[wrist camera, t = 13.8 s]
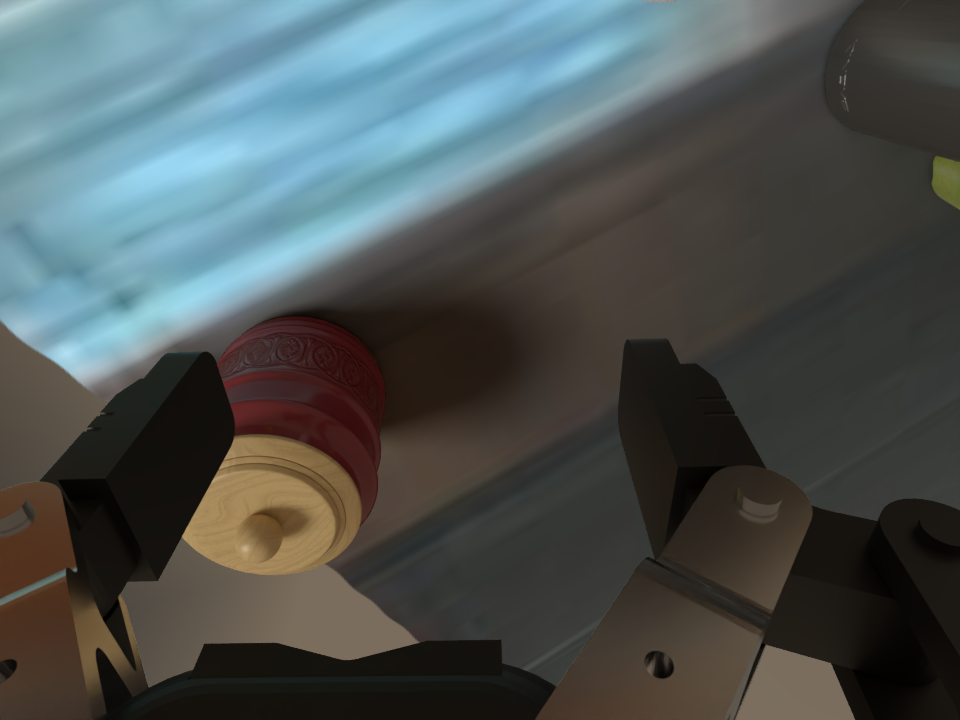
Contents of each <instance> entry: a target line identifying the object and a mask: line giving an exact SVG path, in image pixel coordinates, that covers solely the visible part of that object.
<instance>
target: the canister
mask: <svg viewBox="0 0 960 720" xmlns="http://www.w3.org/2000/svg"><path fill="white" fill-rule="evenodd" d="M217 366H218V369H219V372H220V375H221V378H222V381H223V384H224V387H225V390H226V393H227V396H228V399H229V402H230V405H231V408H232V412H233V415H234V420H235V434H234V440H233V443H232V446H231V448H230V450H229V451H228V453H227V455H226V457H225V459H224V461H223V462H222V464H221V466H220V468H219V470H218V472H217V473H216V475H215V477H214V479H213V481H212V482H211V484H210V486H209V488H208V490H207V492H206V493H205V495H204V497H203V499H202V501H201V503H200V504H199V506H198V508H197V510H196V512H195V514H194V515H193V517H192V519H191V521H190V523H189V525H188V526H187V528H186V530H185V532H184V534H183V536H182V537H183V538H184V539H185V541H186V542H187V543H188V544H189V545H190V546H192V547H193V548H194V549H195V550H196V551H198V552H199V553H201V554H202V555H204V556H205V557H207V558H209V559H210V560H212V561H214V562H216V563H218V564H221V565H223V566H226V567H229V568H232V569H235V570H239V571H243V572H247V573H254V574H262V575H263V574H264V575H284V574H292V573H298V572H302V571H307V570H310V569H313V568H316V567H318V566H321V565H323V564H325V563H327V562H329V561H330V560H332V559H334V558H335V557H336V556H338V555H339V554H340V553H342V552H343V551H344V550H345V549H346V548H347V547H348V546H349V544H350V543H351V542H352V540H353V539H354V537H355V535H356V534H357V531H358V529H359V527H360V526H361V525H362V524H363V522H364V521H365V520H366V519H367V517H368V516H369V514H370V512H371V510H372V508H373V506H374V504H375V501H376V497H377V492H378V476H377V471H378V467H379V464H380V459H381V443H380V427H381V421H382V418H383V415H384V410H385V386H384V381H383V378H382V375H381V372H380V368H379V366H378V364H377V362H376V360H375V358H374V356H373V355H372V353H371V352H370V350H369V349H368V348H367V347H366V346H365V344H364V343H363V342H362V341H360V340H359V339H358V338H357V337H356V336H354V335H353V334H352V333H350V332H349V331H347V330H346V329H344V328H342V327H340V326H338V325H336V324H333V323H331V322H328V321H325V320H322V319H317V318H312V317H305V316H286V317H279V318H274V319H271V320H267V321H265V322H262V323H260V324H257V325H256V326H254V327H252V328H250V329H249V330H247V331H246V332H245V333H243V334H242V335H241V336H240V337H238V338H237V339H236V340H235V341H234V342H233V343H232V344H231V345H230V346H229V347H228V348H227V349H226V351H225V352H224V353H223V355H222V357H221V359H220V360H219V362H218V364H217Z"/></svg>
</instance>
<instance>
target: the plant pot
mask: <svg viewBox="0 0 960 720" xmlns="http://www.w3.org/2000/svg"><path fill="white" fill-rule="evenodd" d="M932 187H933V190H934V191H935V193H936V194H937V195H938V196H939V197H940V198H941V199H943V200H945V201H946V202H948V203H949V204H951V205H953V206H954V207H956V208H958V209H959V210H960V163H959V162H956V161H953V160H949V159H946V158H943V157H939V156H935V159H934V161H933V180H932Z"/></svg>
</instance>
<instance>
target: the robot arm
mask: <svg viewBox="0 0 960 720" xmlns="http://www.w3.org/2000/svg"><path fill="white" fill-rule="evenodd" d="M825 91H826V96H827V101H828V104H829V106H830V108H831V110H832V112H833V114H834V116H835V117H836V118H837V119H838V120H839V121H840V122H841V123H842V124H843V125H845V126H847V127H848V128H850V129H852V130H854V131H857V132H861V133H864V134H867V135H871V136H874V137H877V138H881V139H884V140H887V141H890V142H893V143H896V144H899V145H903V146H906V147H909V148H913V149H916V150H919V151H923V152H926V153H929V154H933V155H936V156H939V157H943V158H946V159H949V160H953V161H956V162H959V163H960V0H866V1H865V2H864V3H863V4H862V5H861V6H859V7H858V8H857V9H856V10H855V12H854V13H853V14H852V15H851V17H850V18H849V19H848V21H847V22H846V23H845V24H844V26H843V28H842V29H841V31H840V33H839V35H838V36H837V38H836V40H835V42H834V45H833V47H832V50H831V53H830V55H829V58H828V63H827V68H826V73H825ZM618 423H619V432H620V437H621V441H622V444H623V448H624V451H625V455H626V459H627V462H628V466H629V469H630V473H631V476H632V480H633V483H634V487H635V491H636V494H637V498H638V501H639V505H640V508H641V512H642V516H643V519H644V523H645V526H646V530H647V533H648V537H649V540H650V544H651V548H652V551H653V555H654V558H655V560H654V559H652V558H650V557H647V558H645V559H644V560H643V561H642V562H641V563H640V564H639V565H638V567H637V568H636V569H635V571H634V572H633V574H632V575H631V577H630V578H629V580H628V581H627V583H626V584H625V586H624V587H623V589H622V590H621V592H620V593H619V595H618V596H617V598H616V599H615V601H614V602H613V604H612V605H611V607H610V608H609V610H608V611H607V613H606V614H605V616H604V617H603V619H602V620H601V622H600V623H599V624H598V626H597V627H596V629H595V630H594V632H593V633H592V635H591V636H590V638H589V639H588V641H587V642H586V644H585V645H584V647H583V648H582V650H581V651H580V653H579V654H578V656H577V657H576V659H575V660H574V662H573V663H572V665H571V666H570V668H569V669H568V671H567V672H566V674H565V675H564V677H563V678H562V680H561V681H560V683H559V684H558V686H557V687H556V686H554V685H553V684H551V683H550V682H548V681H546V680H544V679H542V678H541V677H539V676H537V675H535V674H532V673H530V672H527V671H525V670H522V669H520V668H517V667H513V666H509V665H506V664H502V646H501V640H456V641H425V642H421V643H417V644H413V645H410V646H405V647H402V648H398V649H394V650H390V651H387V652H382V653H379V654H374V655H370V656H367V657H363V658H359V659H355V660H340V659H336V658H332V657H329V656H325V655H321V654H317V653H313V652H309V651H306V650H302V649H298V648H294V647H290V646H286V645H283V644H279V643H230V644H204V646H203V648H202V651H201V653H200V656H199V658H198V660H197V662H196V665H195V667H194V669H193V670H191V671H187V672H184V673H182V674H179V675H177V676H174V677H171V678H168V679H166V680H164V681H162V682H160V683H158V684H156V685H154V686H152V687H148V683H147V680H146V677H145V673H144V669H143V666H142V662H141V658H140V654H139V651H138V647H137V644H136V640H135V636H134V633H133V629H132V625H131V621H130V618H129V614H128V611H127V607H126V605H125V602H124V600H123V598H122V597H121V595H120V593H121V592H122V590H123V588H124V587H125V585H126V583H127V582H129V581H158V579H159V578H160V576H161V574H162V572H163V570H164V568H165V566H166V565H167V563H168V561H169V559H170V557H171V556H172V554H173V552H174V550H175V548H176V546H177V544H178V543H179V541H180V539H181V537H182V536H183V534H184V532H185V530H186V528H187V526H188V525H189V523H190V521H191V519H192V517H193V515H194V514H195V512H196V510H197V508H198V506H199V504H200V503H201V501H202V499H203V497H204V495H205V493H206V492H207V490H208V488H209V486H210V484H211V482H212V481H213V479H214V477H215V475H216V473H217V472H218V470H219V468H220V466H221V464H222V462H223V461H224V459H225V457H226V455H227V453H228V451H229V450H230V448H231V446H232V443H233V440H234V434H235V420H234V415H233V412H232V408H231V405H230V402H229V399H228V396H227V393H226V390H225V387H224V384H223V381H222V378H221V375H220V372H219V369H218V366H217V363H216V361H215V359H214V357H213V356H212V354H210V353H209V352H176V353H167V354H165V355H164V356H163V357H162V358H161V359H160V360H159V361H158V362H157V364H156V365H155V366H154V367H153V368H152V370H151V371H150V372H149V373H148V374H147V375H146V377H145V378H144V379H139V380H138V381H136V382H135V383H133V384H132V385H130V386H129V387H127V388H126V389H124V390H122V391H121V392H119V393H118V394H116V395H115V396H114V398H113V399H112V400H111V401H110V402H109V403H108V404H107V406H106V407H105V408H104V409H103V410H102V411H101V412H100V416H98V417H96V418H95V419H94V420H93V421H92V422H91V424H90V425H89V426H88V427H87V432H83V433H82V434H81V435H80V436H79V437H78V438H77V439H76V440H75V442H74V443H73V444H72V445H71V446H70V447H69V449H67V451H66V452H65V453H64V454H63V455H62V456H61V457H60V459H59V460H58V461H57V462H56V463H55V464H54V465H53V466H52V468H51V469H50V470H49V471H48V472H47V473H46V474H45V475H44V477H43V478H42V479H41V480H40V481H39V482H28V483H23V484H19V485H15V486H12V487H9V488H6V489H4V490H1V491H0V720H736V718H737V716H738V714H739V711H740V709H741V706H742V704H743V701H744V699H745V697H746V694H747V692H748V689H749V687H750V684H751V682H752V679H753V677H754V675H755V672H756V670H757V667H758V665H759V662H760V660H761V658H762V655H763V653H764V650H765V648H766V645H769V646H773V647H776V648H780V649H783V650H787V651H790V652H794V653H798V654H801V655H805V656H808V657H812V658H815V659H819V660H822V661H826V662H829V663H831V664H832V666H833V669H834V671H835V673H836V676H837V678H838V680H839V683H840V685H841V687H842V690H843V692H844V694H845V697H846V699H847V701H848V704H849V706H850V708H851V711H852V713H853V715H854V718H855V720H960V510H957V509H955V508H953V507H950V506H948V505H945V504H942V503H938V502H934V501H929V500H924V499H902V500H897V501H894V502H892V503H890V504H888V505H887V506H885V508H884V509H883V510H882V512H881V514H880V516H879V519H878V521H874V520H869V519H865V518H860V517H855V516H850V515H846V514H841V513H836V512H832V511H828V510H824V509H820V508H818V507H815V506H812V505H811V502H810V500H809V499H808V497H807V495H806V494H805V493H804V492H803V490H802V489H801V488H800V487H799V486H798V485H796V484H795V483H794V482H792V481H791V480H790V479H788V478H786V477H785V476H783V475H781V474H779V473H776V472H774V471H772V470H768V469H766V467H765V465H764V463H763V462H762V460H761V458H760V456H759V455H758V453H757V451H756V449H755V447H754V446H753V444H752V442H751V440H750V438H749V437H748V435H747V433H746V431H745V429H744V428H743V426H742V424H741V422H740V420H739V419H738V417H737V416H735V411H734V410H733V408H732V406H731V404H730V402H729V401H727V400H726V395H725V394H724V392H723V390H722V388H721V386H720V385H719V383H718V381H717V379H716V378H715V377H713V376H712V375H711V374H709V373H708V372H707V371H705V370H704V369H703V368H702V367H700V366H699V365H698V364H680V363H679V361H678V359H677V357H676V355H675V353H674V351H673V348H672V346H671V344H670V342H669V341H668V339H666V338H664V339H632V340H627V341H626V342H625V346H624V352H623V362H622V372H621V383H620V393H619V403H618Z"/></svg>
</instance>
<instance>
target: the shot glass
mask: <svg viewBox="0 0 960 720" xmlns="http://www.w3.org/2000/svg"><path fill="white" fill-rule="evenodd" d="M644 1H651V2H673V1H676V0H644Z"/></svg>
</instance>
